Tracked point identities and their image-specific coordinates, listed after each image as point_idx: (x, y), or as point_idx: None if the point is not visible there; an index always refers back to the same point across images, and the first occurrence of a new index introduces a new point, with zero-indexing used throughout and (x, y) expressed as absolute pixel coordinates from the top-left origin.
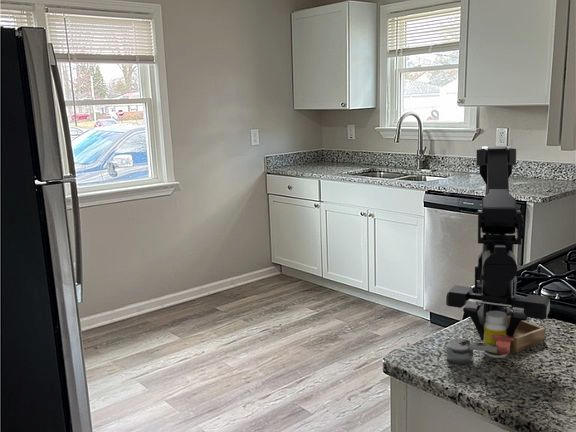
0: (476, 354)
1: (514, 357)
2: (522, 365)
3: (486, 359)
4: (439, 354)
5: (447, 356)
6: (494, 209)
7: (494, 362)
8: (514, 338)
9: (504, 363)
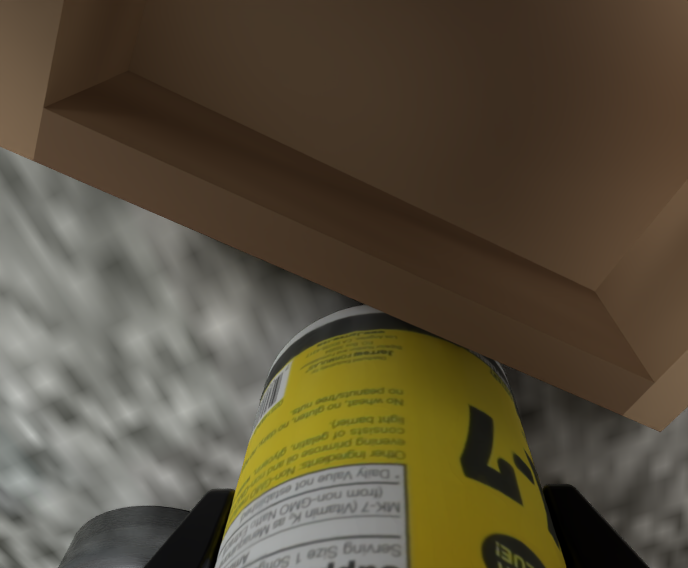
0: (239, 471)
1: (573, 404)
2: (650, 502)
3: None
4: (7, 558)
5: None
6: None
7: None
8: (624, 408)
9: None
